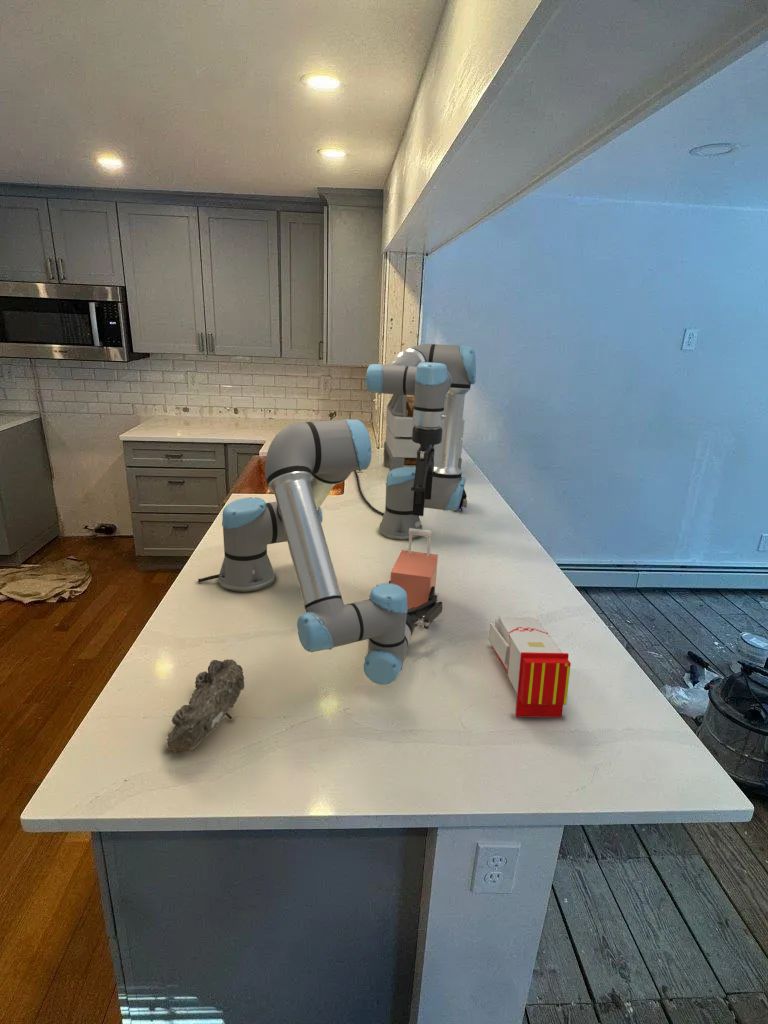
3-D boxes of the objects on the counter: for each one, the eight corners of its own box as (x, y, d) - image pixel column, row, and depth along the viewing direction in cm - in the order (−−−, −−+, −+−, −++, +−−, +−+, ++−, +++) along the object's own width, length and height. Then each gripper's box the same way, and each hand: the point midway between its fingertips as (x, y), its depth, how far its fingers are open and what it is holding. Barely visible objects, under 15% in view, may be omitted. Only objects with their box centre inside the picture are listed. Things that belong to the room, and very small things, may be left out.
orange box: (401, 552, 157) (403, 524, 154) (438, 557, 155) (440, 529, 152) (390, 575, 144) (392, 544, 141) (430, 580, 142) (433, 549, 139)
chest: (399, 589, 160) (401, 553, 157) (434, 594, 158) (437, 558, 155) (388, 614, 147) (390, 575, 144) (427, 619, 145) (430, 580, 142)
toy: (534, 602, 136) (579, 659, 107) (529, 653, 139) (572, 723, 110) (484, 601, 136) (516, 658, 107) (480, 652, 139) (510, 722, 109)
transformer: (382, 463, 289) (386, 382, 275) (445, 464, 293) (451, 384, 279) (390, 482, 257) (394, 392, 243) (460, 483, 261) (468, 394, 247)
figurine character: (467, 516, 223) (461, 500, 237) (469, 499, 220) (463, 483, 233) (450, 516, 223) (446, 499, 236) (452, 498, 220) (447, 483, 233)
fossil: (192, 660, 117) (244, 628, 112) (224, 691, 120) (276, 661, 115) (142, 746, 98) (202, 712, 93) (182, 779, 101) (242, 748, 96)
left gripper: (345, 638, 130) (368, 594, 151) (444, 654, 126) (454, 607, 146) (346, 610, 128) (369, 569, 148) (447, 625, 123) (457, 581, 144)
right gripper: (436, 438, 130) (429, 524, 137) (448, 419, 153) (442, 494, 160) (403, 435, 131) (399, 521, 138) (420, 417, 154) (415, 491, 161)
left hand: (411, 588), depth 147 cm, fingers open, 10 cm apart
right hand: (422, 506), depth 149 cm, fingers open, 13 cm apart
